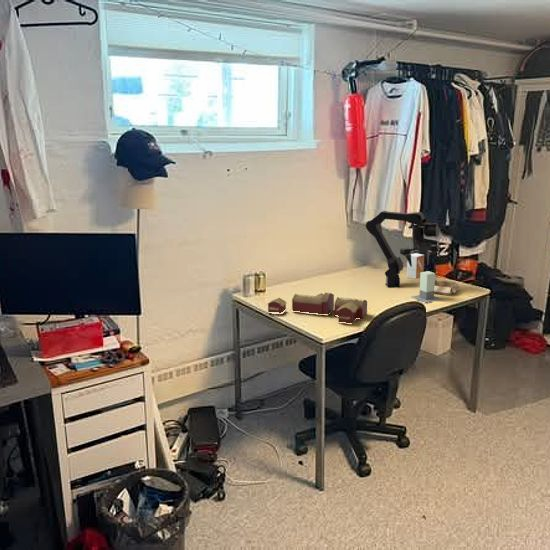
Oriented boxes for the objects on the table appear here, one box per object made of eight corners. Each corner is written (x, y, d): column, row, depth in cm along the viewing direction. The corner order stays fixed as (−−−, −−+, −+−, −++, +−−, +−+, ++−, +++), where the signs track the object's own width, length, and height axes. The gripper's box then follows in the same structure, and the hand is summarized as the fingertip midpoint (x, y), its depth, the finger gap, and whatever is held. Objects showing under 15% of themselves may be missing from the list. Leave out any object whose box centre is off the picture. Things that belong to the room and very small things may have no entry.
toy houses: (368, 313, 254) (368, 292, 251) (356, 327, 236) (356, 305, 233) (280, 303, 272) (280, 284, 269) (263, 316, 254) (262, 295, 251)
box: (419, 297, 272) (420, 272, 269) (427, 295, 274) (428, 271, 271) (426, 299, 268) (427, 274, 264) (433, 298, 270) (435, 273, 266)
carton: (424, 294, 279) (424, 285, 278) (432, 286, 291) (432, 278, 290) (453, 297, 272) (453, 289, 271) (460, 290, 284) (460, 281, 283)
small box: (416, 279, 307) (416, 256, 304) (406, 277, 312) (407, 255, 308) (423, 276, 313) (424, 254, 309) (414, 274, 317) (414, 252, 314)
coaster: (410, 297, 274) (410, 296, 274) (427, 294, 278) (427, 293, 278) (425, 303, 264) (425, 302, 264) (442, 300, 268) (442, 299, 268)
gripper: (405, 240, 273) (407, 270, 276) (441, 236, 274) (442, 266, 277) (399, 237, 284) (400, 266, 287) (433, 233, 285) (434, 262, 288)
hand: (419, 265), depth 284 cm, fingers open, 9 cm apart
